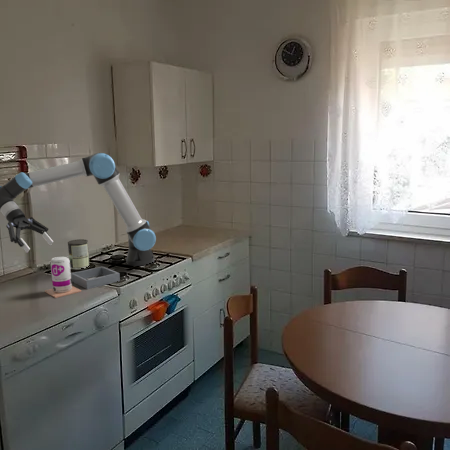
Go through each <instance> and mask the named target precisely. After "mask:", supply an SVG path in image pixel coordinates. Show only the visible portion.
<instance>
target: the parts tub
mask: <svg viewBox="0 0 450 450" xmlns="http://www.w3.org/2000/svg"><path fill="white" fill-rule="evenodd" d="M120 274H121V273H120V272H117V271H115V270H112V269H110V268H107V267H105V266H102V265H101V266H98V267H93V268H89V269H83V270H80V271H75V272H74V271H73V272H71V281H72V283H73V284H76V285H78V286H81V287H82V288H85V289H86V290H91V289H94V288H97V287H101V286H105V285H109V284H112V283H114V284H115V283H118V282H121V277H120V276H121V275H120ZM97 276H98V277H97ZM117 281H118V282H117Z"/></svg>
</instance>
